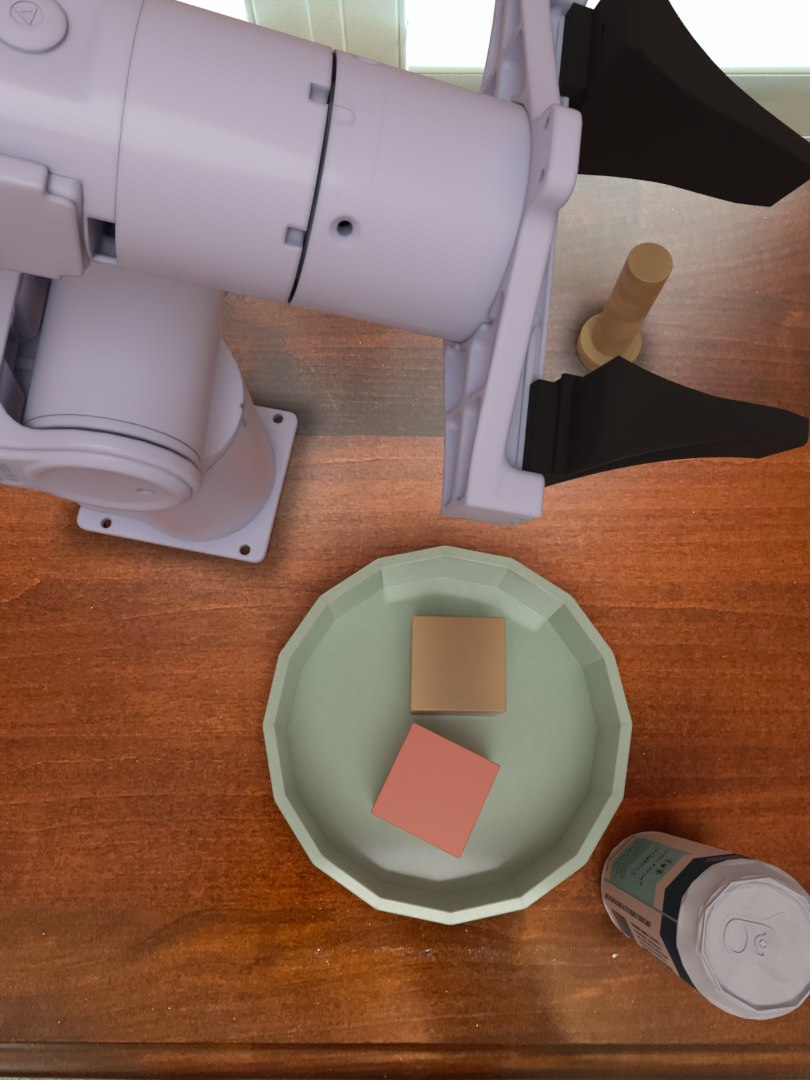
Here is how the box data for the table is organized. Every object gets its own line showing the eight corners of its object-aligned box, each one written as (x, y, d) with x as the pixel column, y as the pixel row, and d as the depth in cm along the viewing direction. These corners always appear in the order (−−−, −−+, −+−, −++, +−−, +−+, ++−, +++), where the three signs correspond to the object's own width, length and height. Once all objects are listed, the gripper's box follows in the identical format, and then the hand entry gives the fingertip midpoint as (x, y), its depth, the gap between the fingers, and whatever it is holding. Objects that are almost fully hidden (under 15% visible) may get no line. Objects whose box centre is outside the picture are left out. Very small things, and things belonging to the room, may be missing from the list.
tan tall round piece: (572, 370, 44) (609, 287, 36) (580, 316, 45) (618, 224, 37) (632, 381, 44) (683, 300, 36) (640, 326, 45) (690, 236, 37)
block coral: (373, 807, 38) (370, 812, 34) (411, 725, 39) (413, 721, 35) (453, 848, 37) (459, 859, 33) (490, 764, 38) (501, 765, 34)
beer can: (697, 955, 37) (835, 1045, 25) (591, 931, 37) (678, 1010, 26) (709, 842, 38) (846, 879, 26) (606, 820, 38) (696, 847, 27)
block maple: (409, 714, 39) (410, 710, 35) (410, 628, 40) (412, 615, 36) (495, 716, 39) (506, 712, 35) (495, 630, 40) (505, 617, 36)
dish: (248, 862, 38) (226, 878, 33) (320, 546, 41) (310, 518, 37) (577, 931, 37) (603, 957, 32) (620, 604, 41) (650, 584, 36)
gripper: (294, 443, 15) (901, 549, 19) (386, -248, 17) (919, -34, 21) (254, 500, 22) (704, 570, 25) (324, 1, 24) (732, 130, 27)
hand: (789, 306), depth 23 cm, fingers open, 7 cm apart
